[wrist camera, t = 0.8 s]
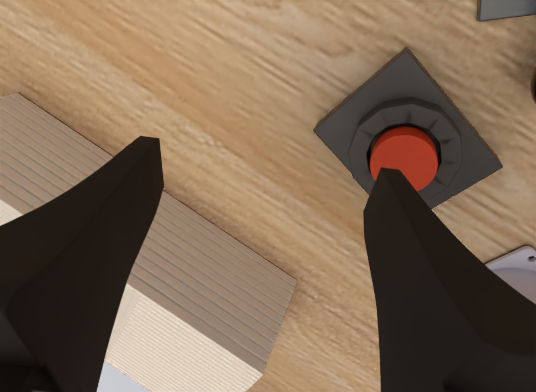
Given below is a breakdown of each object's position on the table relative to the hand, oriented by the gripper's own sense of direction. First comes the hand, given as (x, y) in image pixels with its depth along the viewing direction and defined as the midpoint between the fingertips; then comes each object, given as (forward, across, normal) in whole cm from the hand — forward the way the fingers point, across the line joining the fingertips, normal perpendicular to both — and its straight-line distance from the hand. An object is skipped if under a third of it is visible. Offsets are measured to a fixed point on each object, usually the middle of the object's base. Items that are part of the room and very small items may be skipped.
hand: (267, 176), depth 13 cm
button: (+11, -9, +6) cm, 16 cm away
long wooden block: (+17, +12, +22) cm, 30 cm away
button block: (+14, -10, +7) cm, 19 cm away
